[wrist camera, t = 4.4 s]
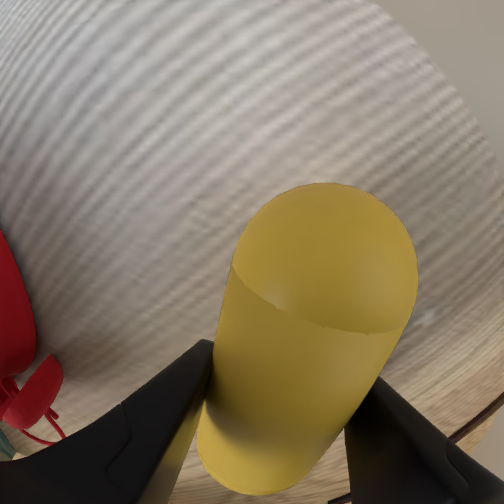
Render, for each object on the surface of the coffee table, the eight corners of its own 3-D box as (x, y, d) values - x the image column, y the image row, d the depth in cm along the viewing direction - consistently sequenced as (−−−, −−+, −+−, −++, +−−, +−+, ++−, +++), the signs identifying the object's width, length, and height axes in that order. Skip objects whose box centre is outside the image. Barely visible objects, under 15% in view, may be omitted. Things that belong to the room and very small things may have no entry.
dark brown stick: (327, 500, 15) (335, 502, 15) (328, 505, 15) (336, 507, 15) (517, 376, 11) (519, 382, 11) (521, 380, 10) (522, 386, 11)
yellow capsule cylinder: (397, 197, 8) (487, 242, 4) (294, 433, 11) (299, 513, 7) (257, 157, 7) (248, 166, 4) (200, 417, 11) (182, 499, 7)
